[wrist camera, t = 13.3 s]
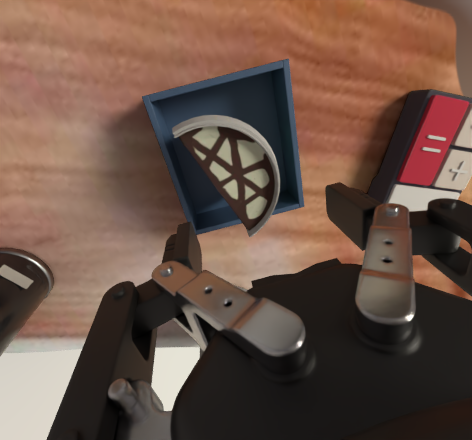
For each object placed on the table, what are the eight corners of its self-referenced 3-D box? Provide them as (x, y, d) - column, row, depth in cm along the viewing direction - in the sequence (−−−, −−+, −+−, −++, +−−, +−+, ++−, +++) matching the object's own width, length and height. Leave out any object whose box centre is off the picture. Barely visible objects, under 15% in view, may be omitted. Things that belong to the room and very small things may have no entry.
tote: (193, 216, 34) (192, 236, 30) (151, 95, 27) (141, 96, 23) (290, 191, 34) (304, 206, 30) (273, 64, 27) (288, 58, 23)
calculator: (515, 105, 29) (451, 223, 35) (477, 105, 33) (426, 211, 39) (435, 87, 27) (382, 216, 33) (405, 90, 31) (362, 204, 37)
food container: (278, 175, 32) (308, 207, 24) (238, 201, 33) (252, 241, 24) (225, 84, 27) (237, 81, 18) (179, 118, 28) (169, 131, 19)
